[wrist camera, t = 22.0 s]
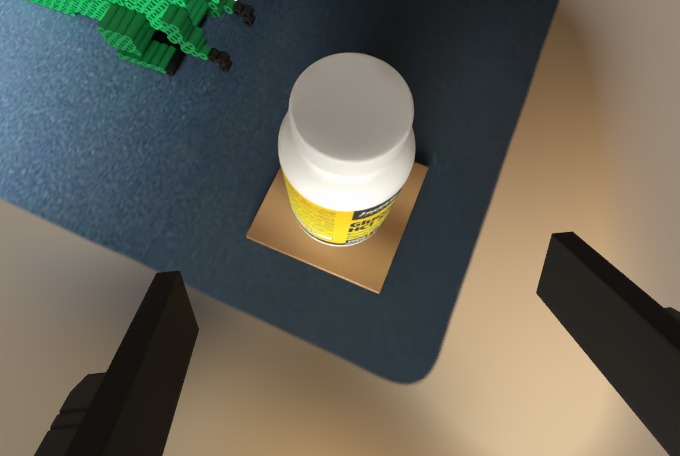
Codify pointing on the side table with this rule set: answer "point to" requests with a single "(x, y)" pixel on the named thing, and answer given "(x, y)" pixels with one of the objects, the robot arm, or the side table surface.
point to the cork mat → (342, 261)
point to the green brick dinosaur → (156, 27)
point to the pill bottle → (346, 146)
